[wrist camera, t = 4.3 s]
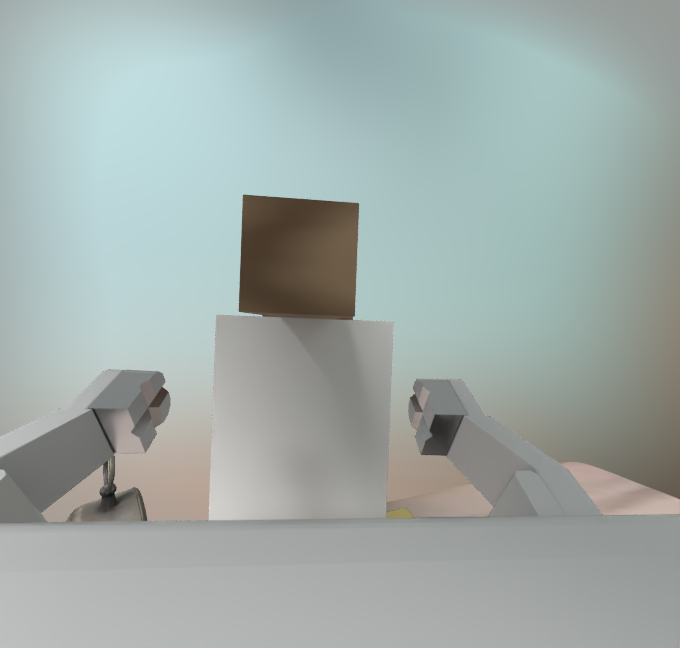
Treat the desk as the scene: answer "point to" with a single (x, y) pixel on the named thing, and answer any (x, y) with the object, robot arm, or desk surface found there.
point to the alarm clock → (111, 503)
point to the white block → (300, 418)
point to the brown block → (298, 258)
